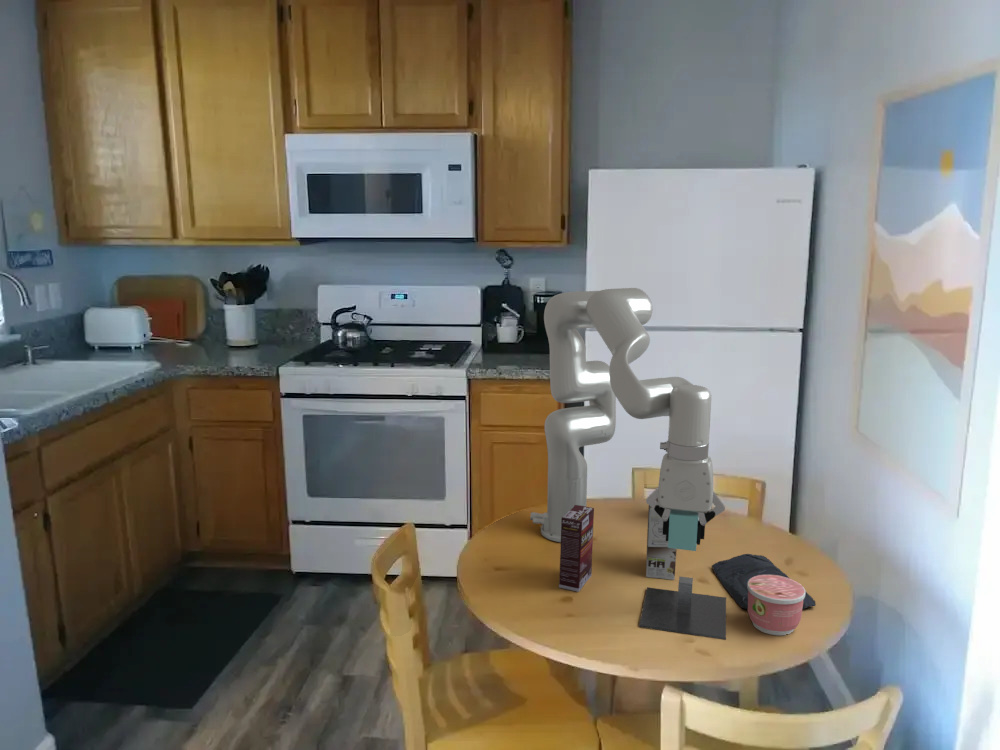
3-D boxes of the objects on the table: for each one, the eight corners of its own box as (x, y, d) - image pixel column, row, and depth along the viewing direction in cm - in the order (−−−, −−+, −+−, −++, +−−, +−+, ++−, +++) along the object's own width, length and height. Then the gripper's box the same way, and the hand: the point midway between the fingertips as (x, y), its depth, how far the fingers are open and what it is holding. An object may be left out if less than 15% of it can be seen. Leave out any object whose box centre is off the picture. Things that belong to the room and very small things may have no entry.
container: (738, 610, 157) (741, 573, 155) (792, 612, 156) (795, 574, 155) (752, 638, 147) (755, 599, 145) (809, 640, 146) (813, 600, 144)
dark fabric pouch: (772, 564, 178) (774, 544, 177) (820, 612, 156) (822, 590, 155) (706, 566, 176) (708, 546, 175) (746, 615, 155) (748, 592, 154)
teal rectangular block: (668, 547, 151) (669, 514, 150) (670, 537, 156) (671, 504, 155) (695, 551, 150) (697, 517, 148) (697, 540, 154) (699, 507, 153)
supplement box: (579, 593, 164) (581, 521, 161) (558, 588, 166) (559, 517, 163) (593, 575, 172) (595, 507, 168) (572, 571, 174) (573, 503, 170)
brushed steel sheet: (639, 627, 151) (640, 593, 149) (647, 589, 166) (648, 558, 164) (725, 639, 146) (728, 604, 145) (725, 599, 161) (728, 567, 160)
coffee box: (675, 580, 170) (679, 510, 166) (645, 577, 171) (648, 507, 167) (675, 562, 178) (678, 495, 175) (646, 559, 180) (649, 492, 176)
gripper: (640, 452, 148) (636, 542, 152) (734, 460, 143) (728, 553, 147) (644, 441, 155) (641, 527, 159) (734, 448, 150) (729, 537, 154)
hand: (683, 539), depth 153 cm, fingers closed on teal rectangular block, 5 cm apart
